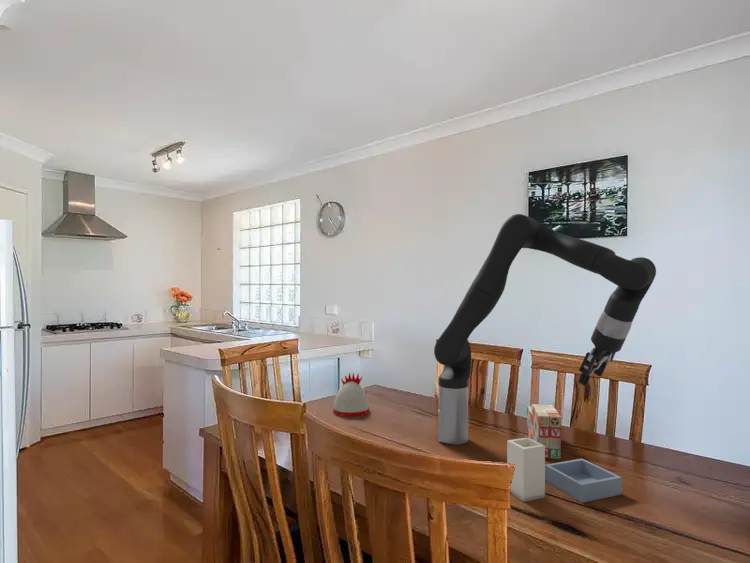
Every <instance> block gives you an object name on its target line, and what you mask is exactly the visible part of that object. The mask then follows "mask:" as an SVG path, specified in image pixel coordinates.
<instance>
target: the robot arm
mask: <svg viewBox="0 0 750 563" xmlns="http://www.w3.org/2000/svg"><path fill="white" fill-rule="evenodd" d="M522 249H529V250H536V251H541V252H544V253H547V254H550V255H553V256H555V257H557V258H560V259H561V260H563V261H566V262H567V263H569V264H571V265H573V266H576V267H578V268H580V269H583V270H585V271H589V272H591V273H594V274H597V275H600V276H601V277H603V278H604V279H605V280H606V281H607V280H608V281H609V282H610V283H612V284H615V286H617V287H616V289H614V291H612V293H611V294H610V295H609V297H608V299H607V302H606V304H605V306H604V309H603V311H602V312H601V314H600V316H599V317H598V321H597V322H596V326H595V327H594V330H593V332H592V335H591V338H590V341H591V343H592V344H593V346H594V347H593V348H592V349H591V350H590V352H589V351H588V352H586V353H585V356H584V359H583V360H582V363H581V365H580V367H579V369H578V371H579V372H581V375H580V376H579V378H578V383H579V384H581V385H582V386H583V387H586V386H588V384H589V381H590V380H591V377H592V375H593V373H594V374H595V375H597V376H598V377H602V376H603V374H604V373H605V370H606V367H607V366H608V365H609V364H610V363H612V362H613V360H614V357H615V356H616V353H618V352H620V351H621V350H622V348H623V345H624V344H625V341H626V338H627V337H628V334H629V332H630V330H631V327H632V324H633V322H634V319H635V318H636V315H637V312H638V310H639V308H640V305H641V304H642V303H641V302H642V301H643V299H644V298H645V297H646V294H647V293H648V291H649V290H650V288H651V286H652V284H653V283H654V280H655V277H656V274H657V268H656V266H655V263H654V262H653V261H652V260H651V259H649V258H647V257H643V256H638V257H634V258H632V259H627V258H624V257H621V256H619V255H617V254H616V253H615V251H614V250H612V249H610V248H608V247H606V246H602V245H599V244H597V243H593V242H591V241H587V240H585V239H581V238H576V237H573V236H569V235H566V234H564V233H561V232H557V231H555V230H553V229H551V228H549V227H547V226H545V225H544V224H542V223H540V222H538V221H537V220H536V219H535V218H533V217H530V216H527V215H525V214H521V213H515V214H513V215H512V214H511V216H508V218H506V220H504V222H503V223H502V225H501V227H500V229H499V231H498V234H497V236H496V238H495V240H494V243H493V245H492V247H491V249H490V252H489V253H488V255H487V256H486V257H487V258H485V260H484V263H482V266H481V268H480V269H479V271H478V273H477V275H476V276H475V278H474V280H473V281H472V283H471V284H470V286H469V288H468V289H467V291H466V293H465V295H464V297H463V299H462V301H461V303H460V304H459V306H458V308H457V310H456V312H455V314H454V316H452V319H451V321H450V322H449V324H448V325H447V327H446V328H445V329H444V331H443V332H442V334H441V335H440V336H439V338H438V339H437V341H436V343H435V345H434V348H433V350H434V351H433V354H434V358H435V360H436V361H437V362H438V363H439V364H440V365H442V366H444V367H443V370H442V371H441V372H440V375H439V377H438V410H437V412H438V414H437V415H438V416H437V420H438V421H437V422H438V423H437V428H438V430H437V432H438V433H437V434H438V435H437V438H438V439H437V440H438V442H439V443H444V444H448V445H463V444H466V443H468V441H469V379H470V377H471V373H472V372H471V369H472V347H471V343H470V341H469V338H470V335H471V334H472V333H473V332H474V330H476V329H477V327H479V325H480V324H481V323H482V322H484V320H486V318H487V317H488V316H489V315H490V314H491V313H492V312H493V310H494V309H495V307H496V305H497V304H498V302H499V300H500V299H501V297H502V295H503V293H504V291H505V288H506V284H507V280H508V276H509V271H510V268H511V266H512V264H513V262H514V261H515V260H516V258H517V255H518V254H519V252H520V251H521V250H522Z"/></svg>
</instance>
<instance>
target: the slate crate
mask: <svg viewBox="0 0 750 563" xmlns="http://www.w3.org/2000/svg"><path fill="white" fill-rule="evenodd" d="M622 479H623V478H622V477H621V476H619V475H618V474H615V473H613V472H611V471H609V470H607V469H605V468H604V467H601V466H600V465H599V466H598V465H596V464H595V463H592V462H591V461H588V460H586V459H584V458H577V459H571V460H565V461H561V462H554V463H549V464H545V483H548V484H550V485H551V486H553V487H555V488H556V489H557V490H560V491H561V492H563V493H564V494H566V495H568V496H570V497H571V498H573V499H575V500H576V501H577V502H579V503H586V502H591V501H597V500H602V499H605V498H606V499H607V498H611V497H616V496H621V495H623V491H622V486H623V485H622V484H623V482H622V481H623V480H622Z"/></svg>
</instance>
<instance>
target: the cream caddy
mask: <svg viewBox="0 0 750 563" xmlns="http://www.w3.org/2000/svg"><path fill="white" fill-rule="evenodd" d="M506 442H507V443H506V451H507V452H506V455H507V456H506V458H507V459H506V462H507V463H511V464H515V466H516V467H515V471H514V475H513V479H512V483H511V493H510V494H512V495H513V496H515V497H516V498H517V499H519V500H520V501H522V502H523V503H525V502H530V501H535V500H540V499H544V498H546V481H545V465H546V458H545V446H544V445H542V444H540V443H538V442H536V441H534V440H532V439H530V438H529V436H528V437H521V438H514V439H508V440H506ZM507 463H506V464H507Z"/></svg>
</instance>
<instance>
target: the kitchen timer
mask: <svg viewBox="0 0 750 563" xmlns="http://www.w3.org/2000/svg"><path fill="white" fill-rule="evenodd" d="M359 375H360V374H359V373H357V374H356V378H355V373H354V372H352V376H351V373H350V372H349V373H348V377H347V375H344V378H345V379H343V378H340V380H341V383H342V384H343V385H341V386H340V388H339V390H338V391H337V392H336V393H337V394H336V396H335V398H334V402H333V410H332V411H333V414H334V413H335V414H334V415H336V414H337V415H336V416H339V415H340V416H339V417H344V416H347V417H348V418H353V417H354V418H356V416H357V417H361V416H362V415H363V416H366V415H369V413H370V403H369V399H368V396H367V395H368V393H367V392H366V391H365V389H364V387H363V386H362V385H361V384H360V383H361V382H362V379H363V376H361V377H360V376H359ZM344 380H345V381H344ZM365 414H366V415H365ZM363 416H362V417H363Z"/></svg>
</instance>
